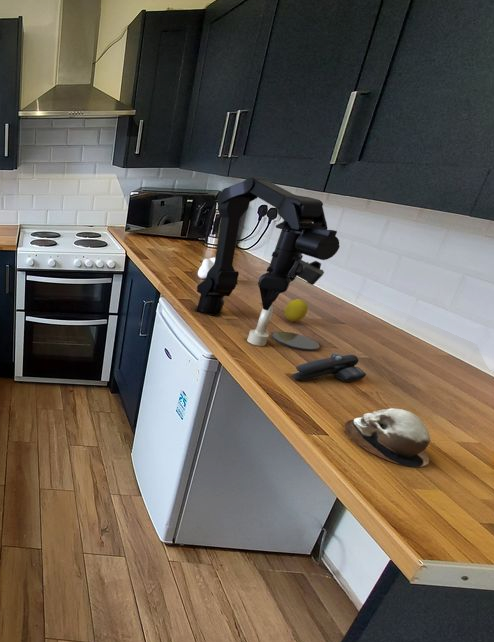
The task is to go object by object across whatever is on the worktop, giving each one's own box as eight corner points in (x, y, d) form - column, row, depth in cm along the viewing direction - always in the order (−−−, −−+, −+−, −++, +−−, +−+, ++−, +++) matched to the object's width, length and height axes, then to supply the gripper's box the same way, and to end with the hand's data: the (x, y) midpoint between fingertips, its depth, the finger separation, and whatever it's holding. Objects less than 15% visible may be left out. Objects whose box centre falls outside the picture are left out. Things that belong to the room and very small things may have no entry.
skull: (324, 418, 80) (371, 385, 78) (347, 446, 83) (393, 415, 81) (382, 460, 69) (440, 424, 67) (406, 490, 72) (462, 456, 70)
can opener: (339, 367, 102) (348, 348, 99) (367, 382, 96) (377, 362, 93) (279, 372, 99) (287, 352, 96) (304, 387, 93) (313, 366, 90)
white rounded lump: (225, 278, 169) (231, 257, 165) (230, 286, 159) (236, 265, 155) (196, 274, 172) (201, 254, 169) (198, 282, 162) (204, 261, 159)
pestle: (245, 342, 114) (257, 304, 109) (248, 337, 117) (261, 300, 112) (263, 347, 111) (277, 309, 106) (267, 342, 114) (280, 305, 109)
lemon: (295, 319, 131) (304, 296, 127) (306, 326, 126) (315, 302, 122) (277, 317, 131) (285, 295, 128) (287, 324, 126) (296, 301, 123)
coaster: (268, 341, 115) (269, 339, 114) (275, 330, 122) (276, 328, 122) (316, 354, 108) (317, 353, 108) (320, 342, 115) (321, 340, 115)
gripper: (324, 262, 92) (299, 324, 98) (331, 249, 104) (309, 305, 111) (267, 252, 98) (248, 311, 105) (280, 241, 111) (262, 294, 117)
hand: (268, 305), depth 109 cm, fingers open, 9 cm apart
